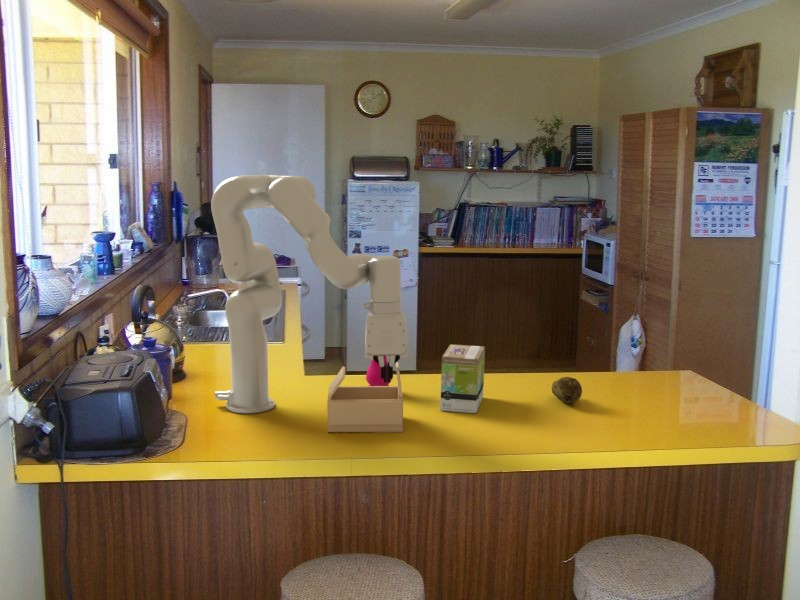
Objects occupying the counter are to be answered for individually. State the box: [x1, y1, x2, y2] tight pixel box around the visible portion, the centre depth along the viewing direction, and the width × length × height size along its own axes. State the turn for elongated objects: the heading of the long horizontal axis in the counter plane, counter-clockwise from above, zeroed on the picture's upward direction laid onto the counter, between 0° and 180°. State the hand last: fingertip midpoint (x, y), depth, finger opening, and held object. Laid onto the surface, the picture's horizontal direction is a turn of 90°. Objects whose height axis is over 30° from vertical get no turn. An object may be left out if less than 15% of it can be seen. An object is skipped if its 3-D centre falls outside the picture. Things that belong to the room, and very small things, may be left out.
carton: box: [326, 385, 404, 433], centre depth 208 cm, size 18×13×8 cm
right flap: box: [395, 361, 403, 397], centre depth 207 cm, size 1×10×6 cm, turn 2°
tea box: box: [439, 344, 486, 414], centre depth 224 cm, size 15×10×15 cm, turn 168°
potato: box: [551, 376, 583, 404], centre depth 226 cm, size 8×13×8 cm, turn 167°
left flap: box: [327, 366, 346, 398], centre depth 206 cm, size 1×10×6 cm
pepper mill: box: [365, 355, 393, 386], centre depth 233 cm, size 7×7×20 cm
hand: (386, 381), depth 206 cm, fingers closed
